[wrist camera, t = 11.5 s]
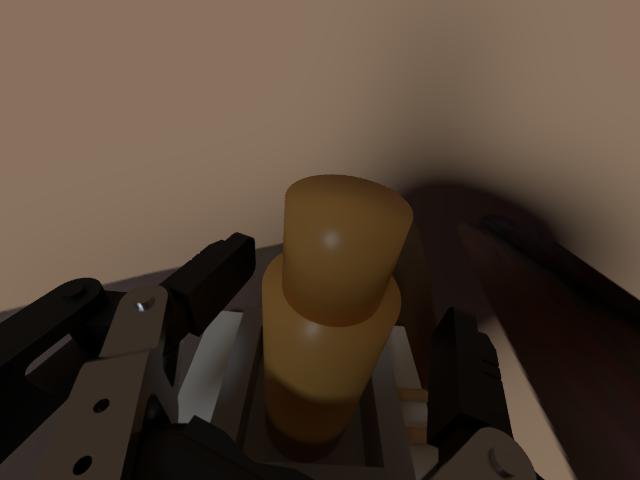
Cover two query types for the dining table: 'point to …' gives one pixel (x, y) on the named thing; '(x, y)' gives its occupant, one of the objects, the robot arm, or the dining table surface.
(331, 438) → the stepped amber cylinder
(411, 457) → the hollow square frame plate
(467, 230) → the dining table surface
